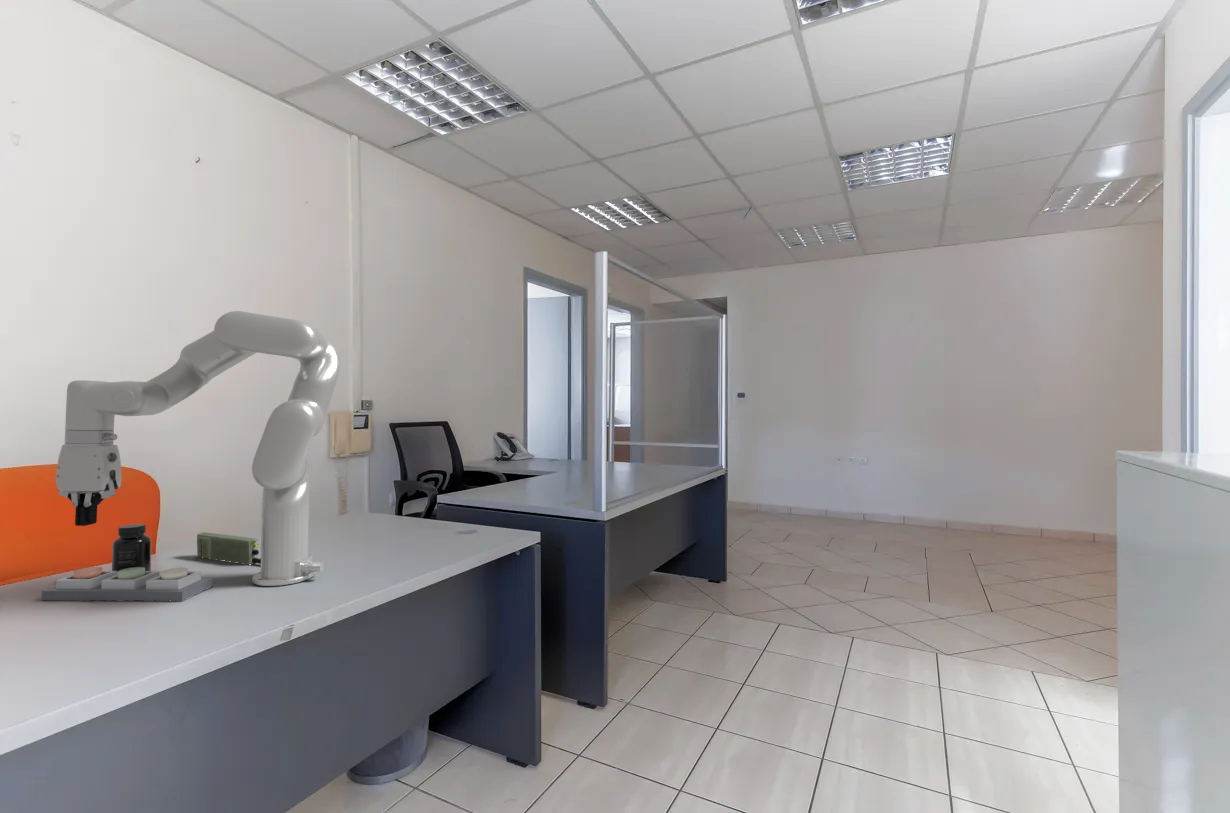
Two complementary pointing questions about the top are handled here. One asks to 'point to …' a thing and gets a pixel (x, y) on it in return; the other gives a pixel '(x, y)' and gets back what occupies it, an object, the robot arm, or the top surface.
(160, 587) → the button panel
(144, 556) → the supplement bottle
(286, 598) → the top surface
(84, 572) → the terracotta button
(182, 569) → the cream button
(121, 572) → the sage button
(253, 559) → the handheld radio
